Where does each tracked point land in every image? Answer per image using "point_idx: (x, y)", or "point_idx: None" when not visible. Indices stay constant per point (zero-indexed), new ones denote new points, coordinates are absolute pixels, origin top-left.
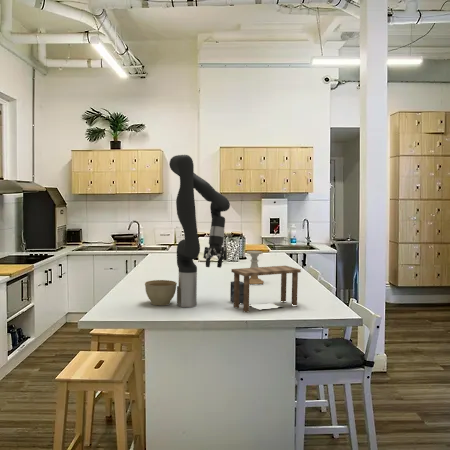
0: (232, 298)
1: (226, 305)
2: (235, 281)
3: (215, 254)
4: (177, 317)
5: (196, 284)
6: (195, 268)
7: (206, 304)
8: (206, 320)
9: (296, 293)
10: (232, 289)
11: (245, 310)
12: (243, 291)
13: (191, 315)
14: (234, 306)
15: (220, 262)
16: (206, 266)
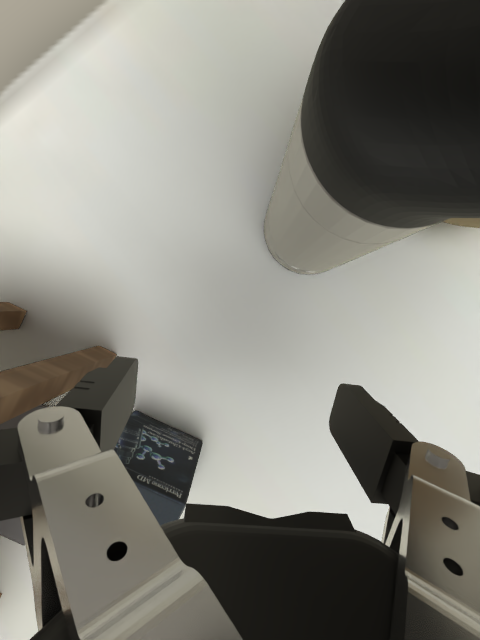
0: (178, 439)
1: (162, 356)
2: (2, 376)
3: (179, 522)
4: (185, 13)
5: (285, 213)
6: (312, 104)
7: (251, 308)
8: (48, 58)
9: None
10: (166, 463)
11: (2, 303)
12: None
13: (161, 85)
14: (107, 350)
15: (66, 404)
16: (346, 384)
